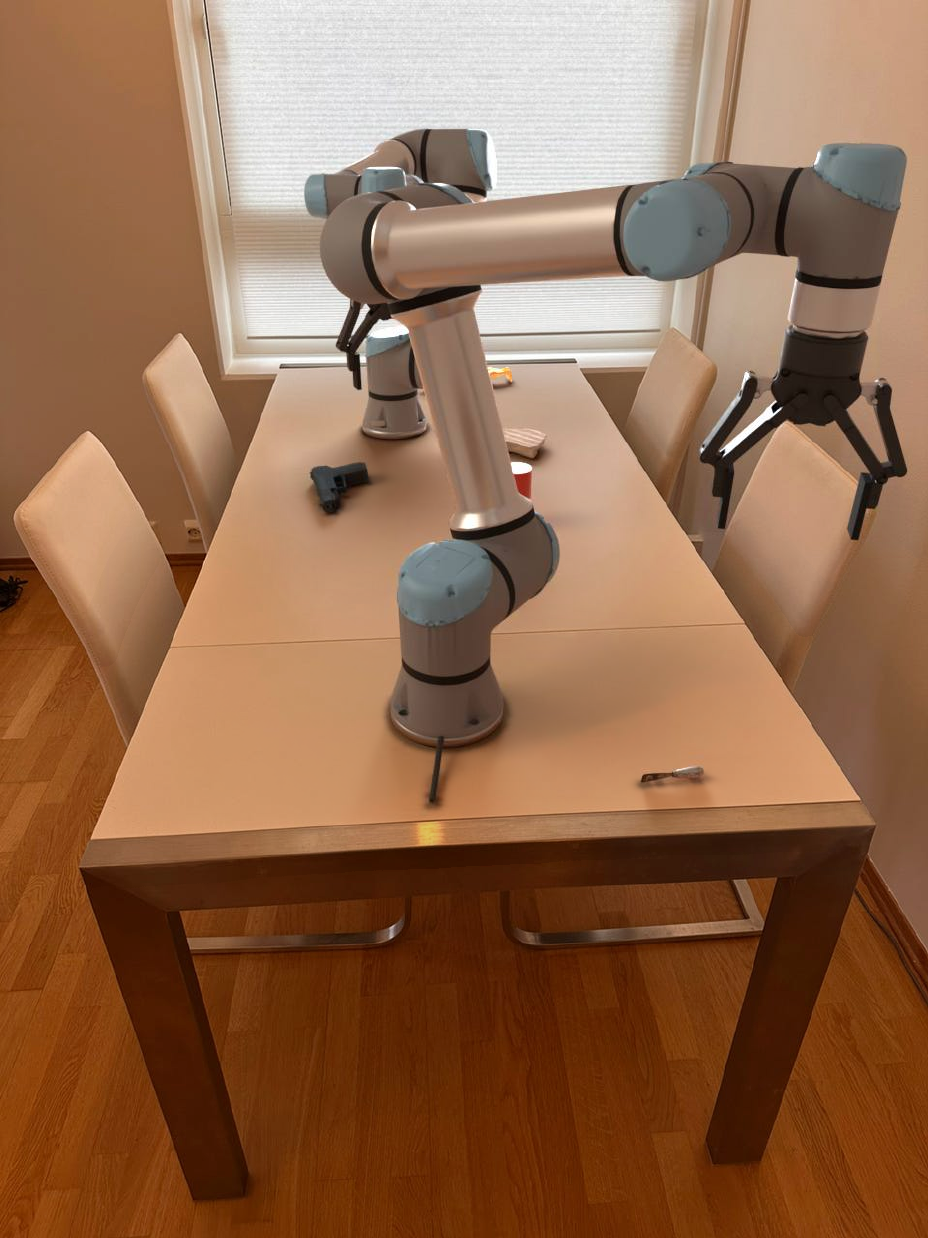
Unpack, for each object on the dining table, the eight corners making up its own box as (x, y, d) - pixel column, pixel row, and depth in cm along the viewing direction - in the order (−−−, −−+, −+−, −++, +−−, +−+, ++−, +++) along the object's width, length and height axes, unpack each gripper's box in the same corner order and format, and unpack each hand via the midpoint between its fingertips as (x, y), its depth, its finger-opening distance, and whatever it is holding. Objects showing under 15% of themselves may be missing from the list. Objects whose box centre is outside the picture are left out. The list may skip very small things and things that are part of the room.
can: (535, 525, 170) (538, 469, 164) (512, 532, 167) (513, 475, 161) (518, 515, 174) (520, 459, 168) (495, 521, 171) (496, 466, 165)
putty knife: (703, 777, 109) (705, 767, 109) (642, 788, 108) (644, 777, 107) (700, 772, 110) (702, 762, 109) (639, 782, 109) (640, 771, 108)
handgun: (380, 507, 177) (320, 515, 174) (365, 473, 191) (308, 479, 188) (379, 493, 175) (318, 500, 172) (364, 459, 189) (307, 465, 186)
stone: (551, 440, 207) (551, 430, 205) (534, 459, 197) (534, 448, 196) (499, 434, 211) (499, 423, 210) (480, 451, 202) (480, 440, 200)
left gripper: (324, 273, 151) (334, 396, 162) (459, 263, 160) (460, 381, 170) (312, 266, 157) (322, 386, 168) (443, 257, 165) (444, 371, 176)
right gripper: (958, 324, 86) (902, 523, 97) (693, 312, 90) (668, 504, 101) (980, 344, 79) (917, 555, 91) (693, 331, 84) (667, 534, 95)
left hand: (391, 384), depth 169 cm, fingers open, 13 cm apart
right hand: (785, 529), depth 96 cm, fingers open, 13 cm apart
